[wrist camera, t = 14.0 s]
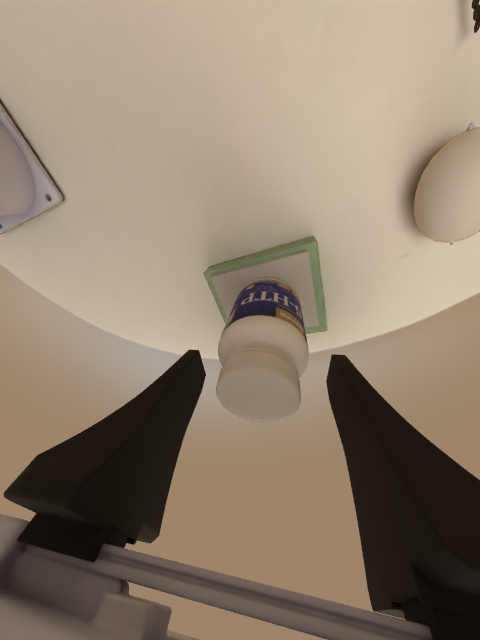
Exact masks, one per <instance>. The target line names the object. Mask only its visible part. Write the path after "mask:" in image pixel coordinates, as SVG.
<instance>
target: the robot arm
mask: <svg viewBox="0 0 480 640" xmlns="http://www.w3.org/2000/svg"><path fill="white" fill-rule="evenodd" d="M50 196H51V198H52V199H51V198H50ZM62 199H63V198H62V195H61V193H60V192H59V190H58V189H57V187H56V186H55V184H54V183H53V181H52V180H51V178H50V177H49V175H48V174H47V172H46V171H45V169H44V168H43V166H42V165H41V163H40V162H39V160H38V159H37V157H36V156H35V154H34V153H33V151H32V150H31V148H30V147H29V145H28V144H27V142H26V141H25V139H24V138H23V136H22V135H21V133H20V132H19V130H18V129H17V127H16V126H15V124H14V123H13V121H12V120H11V118H10V117H9V115H8V114H7V112H6V111H5V109H4V108H3V107H2V105H1V104H0V234H3V233H5V232H7V231H9V230H11V229H12V228H14V227H16V226H18V225H20V224H22V223H23V222H25V221H27V220H29V219H31V218H33V217H34V216H36V215H38V214H40V213H42V212H44V211H46V210H47V209H49V208H51V207H53V206H55V205H57V204H58V203H60V202H62ZM205 376H206V373H205V370H204V367H203V363H202V359H201V356H200V352H199V350H188V351H187V352H186V353H185V354H184V355H183V356H182V357H181V358H180V359H179V360H178V361H177V362H176V363H175V364H173V365H172V366H171V367H170V368H169V369H168V370H167V371H166V372H165V373H164V374H163V375H162V376H160V377H159V378H158V379H157V380H156V381H155V382H153V383H152V384H151V385H150V386H149V387H147V388H146V389H145V390H144V391H143V392H142V393H140V394H139V395H138V396H136V397H135V398H134V399H132V400H131V401H129V402H128V403H127V404H125V405H124V406H122V407H121V408H120V409H118V410H116V411H115V412H113V413H112V414H110V415H109V416H107V417H106V418H104V419H103V420H101V421H99V422H98V423H96V424H94V425H93V426H91V427H90V428H88V429H86V430H84V431H83V432H81V433H79V434H77V435H75V436H74V437H72V438H70V439H68V440H66V441H64V442H62V443H60V444H58V445H56V446H55V447H53V448H51V449H49V450H47V451H45V452H43V453H41V454H39V455H37V456H36V457H35V458H34V460H33V461H32V462H31V463H30V464H29V465H28V466H27V467H26V469H25V470H24V471H23V472H22V473H21V474H20V475H19V476H18V477H17V479H16V480H15V481H14V482H13V483H12V484H11V485H10V486H9V487H8V489H7V490H6V491H5V492H4V497H5V498H6V499H8V500H10V501H12V502H14V503H16V504H18V505H20V506H22V507H25V508H27V509H29V510H31V511H33V512H36V515H35V516H34V517H33V519H32V520H31V521H30V522H29V521H26V520H22V519H19V518H15V517H11V516H7V515H3V514H0V640H200V639H196V638H193V637H189V636H186V635H182V634H179V633H175V632H172V631H169V630H167V628H168V624H169V620H170V616H171V612H172V611H171V608H170V607H168V606H165V605H162V604H159V603H157V602H153V601H150V600H146V599H142V598H138V597H134V596H130V595H129V585H128V582H131V583H135V584H138V585H142V586H145V587H149V588H152V589H156V590H159V591H162V592H166V593H169V594H173V595H176V596H179V597H183V598H186V599H190V600H193V601H197V602H201V603H204V604H207V605H211V606H214V607H218V608H221V609H225V610H228V611H231V612H235V613H238V614H242V615H245V616H249V617H252V618H255V619H259V620H262V621H266V622H269V623H273V624H276V625H280V626H283V627H287V628H290V629H293V630H297V631H300V632H304V633H307V634H311V635H314V636H317V637H321V638H324V639H328V640H480V480H479V479H477V478H476V477H475V476H473V475H472V474H471V473H469V472H468V471H467V470H465V469H464V468H463V467H461V466H460V465H459V464H458V463H456V462H455V461H454V460H453V459H451V458H450V457H449V456H448V455H446V454H445V453H444V452H442V451H441V450H440V449H439V448H437V447H436V446H435V445H434V444H433V443H431V442H430V441H429V440H428V439H427V438H425V437H424V436H423V435H422V434H421V433H420V432H418V431H417V430H416V429H415V428H414V427H413V426H412V425H411V424H409V423H408V422H407V421H406V420H405V419H404V418H403V417H402V416H401V415H400V414H399V413H398V412H397V411H396V410H395V409H394V408H393V407H392V406H391V405H389V404H388V403H387V402H386V401H385V400H384V398H383V397H382V396H381V395H380V394H378V392H377V391H376V390H375V389H374V388H373V387H372V386H371V385H370V384H369V382H368V381H367V380H366V379H365V378H364V377H363V376H362V374H361V373H360V372H359V371H358V370H357V369H356V367H355V366H354V365H353V364H352V363H351V361H350V360H349V359H348V358H347V357H346V356H345V355H332V356H331V361H330V366H329V372H328V376H327V381H326V382H327V389H328V395H329V400H330V404H331V407H332V411H333V414H334V418H335V421H336V424H337V428H338V431H339V434H340V438H341V442H342V445H343V449H344V453H345V456H346V461H347V466H348V471H349V476H350V482H351V487H352V492H353V498H354V503H355V509H356V515H357V521H358V527H359V533H360V538H361V545H362V552H363V559H364V565H365V572H366V579H367V586H368V591H369V596H370V601H371V605H372V609H373V611H376V612H379V613H383V614H387V615H392V616H395V617H399V618H403V619H405V620H403V619H398V618H395V617H391V616H387V615H383V614H379V613H375V612H371V611H367V610H363V609H359V608H355V607H352V606H348V605H344V604H340V603H336V602H332V601H328V600H324V599H320V598H316V597H312V596H308V595H304V594H301V593H296V592H292V591H288V590H285V589H281V588H277V587H272V586H269V585H265V584H261V583H257V582H253V581H250V580H245V579H241V578H237V577H234V576H230V575H226V574H222V573H218V572H214V571H210V570H206V569H202V568H199V567H194V566H191V565H187V564H183V563H179V562H175V561H171V560H167V559H163V558H159V557H155V556H151V555H147V554H143V553H140V552H136V551H132V550H128V549H124V547H125V544H126V543H129V544H133V545H134V544H135V543H136V541H137V540H138V541H142V542H146V543H152V542H153V541H154V540H155V539H156V538H157V537H158V536H159V533H160V528H161V523H162V519H163V514H164V510H165V505H166V501H167V497H168V493H169V489H170V485H171V480H172V477H173V473H174V469H175V466H176V462H177V458H178V455H179V451H180V448H181V445H182V441H183V437H184V435H185V432H186V429H187V427H188V424H189V422H190V419H191V417H192V414H193V412H194V409H195V407H196V404H197V401H198V399H199V396H200V394H201V391H202V388H203V384H204V380H205ZM127 581H128V582H127Z"/></svg>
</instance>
